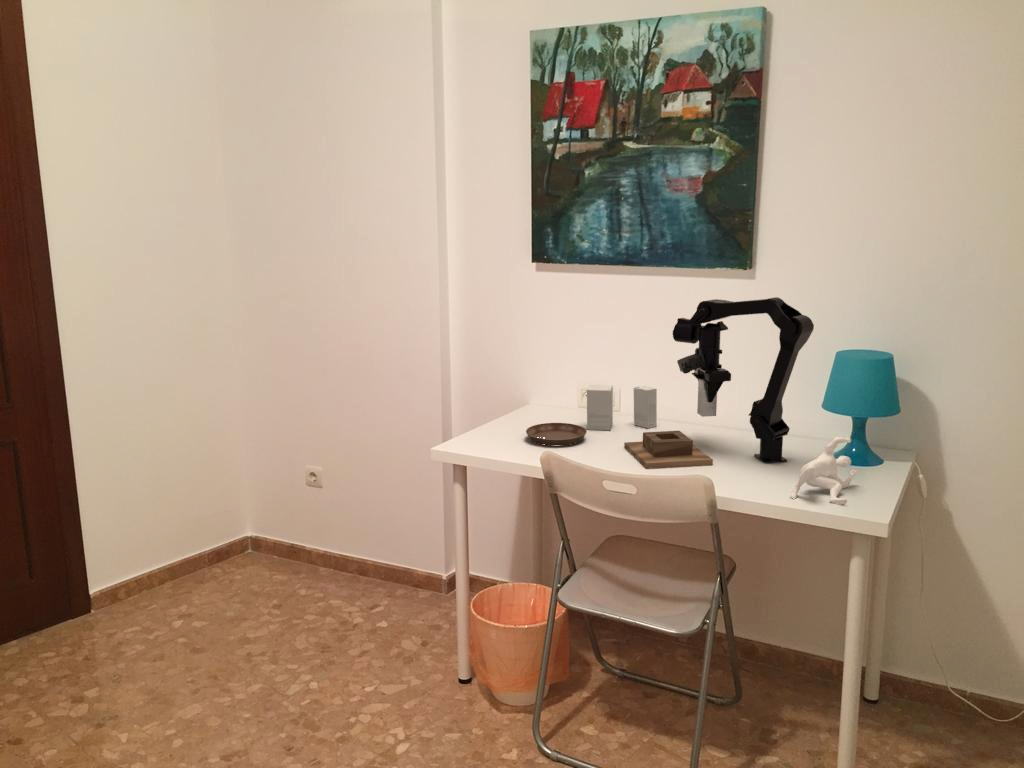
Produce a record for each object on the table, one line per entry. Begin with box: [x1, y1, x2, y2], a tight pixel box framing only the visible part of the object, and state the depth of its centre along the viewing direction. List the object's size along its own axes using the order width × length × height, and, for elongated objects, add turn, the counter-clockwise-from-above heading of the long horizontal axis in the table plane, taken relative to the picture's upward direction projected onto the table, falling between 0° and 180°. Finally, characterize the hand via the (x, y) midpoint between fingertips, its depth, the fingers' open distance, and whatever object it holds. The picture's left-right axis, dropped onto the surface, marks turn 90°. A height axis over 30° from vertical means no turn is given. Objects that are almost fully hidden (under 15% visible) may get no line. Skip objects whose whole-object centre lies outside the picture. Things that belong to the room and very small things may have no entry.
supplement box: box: [586, 384, 614, 431], centre depth 256 cm, size 7×7×13 cm
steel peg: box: [697, 378, 718, 418], centre depth 234 cm, size 4×4×10 cm
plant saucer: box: [525, 422, 588, 447], centre depth 244 cm, size 18×18×3 cm
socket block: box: [623, 430, 714, 470], centre depth 226 cm, size 20×18×6 cm
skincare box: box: [633, 385, 658, 429], centre depth 257 cm, size 6×4×12 cm
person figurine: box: [789, 436, 857, 505], centre depth 197 cm, size 13×13×18 cm
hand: (707, 400), depth 234 cm, fingers closed on steel peg, 4 cm apart
